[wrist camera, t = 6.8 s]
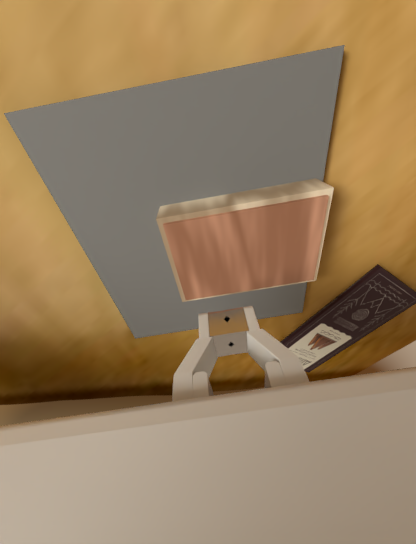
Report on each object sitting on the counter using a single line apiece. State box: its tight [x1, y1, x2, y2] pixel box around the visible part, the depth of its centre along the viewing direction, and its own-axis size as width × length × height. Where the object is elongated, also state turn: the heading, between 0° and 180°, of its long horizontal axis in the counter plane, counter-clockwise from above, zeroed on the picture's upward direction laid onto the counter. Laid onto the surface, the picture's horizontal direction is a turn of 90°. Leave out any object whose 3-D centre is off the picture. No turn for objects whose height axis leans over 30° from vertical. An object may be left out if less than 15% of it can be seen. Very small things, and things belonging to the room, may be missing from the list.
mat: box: [4, 45, 344, 338], centre depth 19 cm, size 20×22×1 cm
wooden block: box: [156, 178, 334, 302], centre depth 18 cm, size 3×8×12 cm
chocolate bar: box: [280, 265, 416, 372], centre depth 28 cm, size 9×1×18 cm
